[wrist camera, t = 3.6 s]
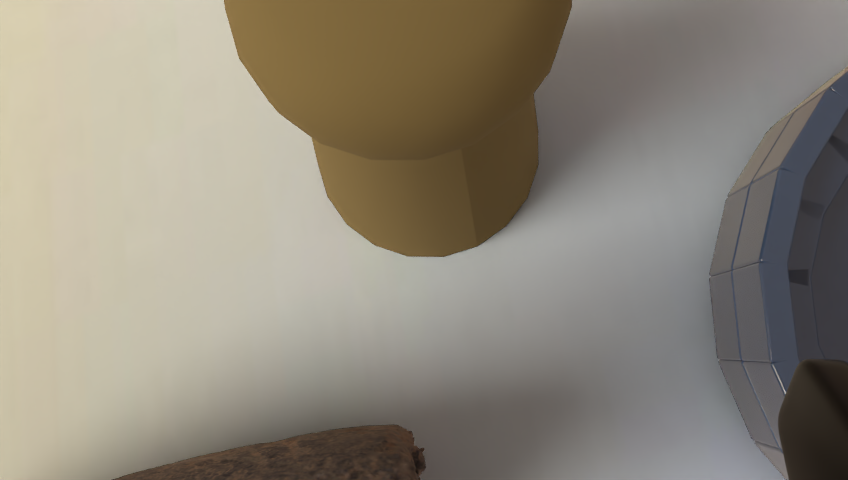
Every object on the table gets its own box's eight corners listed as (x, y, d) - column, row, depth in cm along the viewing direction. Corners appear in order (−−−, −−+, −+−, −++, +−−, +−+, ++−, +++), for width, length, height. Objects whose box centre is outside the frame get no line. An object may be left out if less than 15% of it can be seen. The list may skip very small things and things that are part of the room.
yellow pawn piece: (305, 59, 21) (138, -242, 10) (520, 25, 21) (580, -316, 10) (331, 272, 20) (179, 188, 10) (556, 240, 20) (663, 115, 9)
